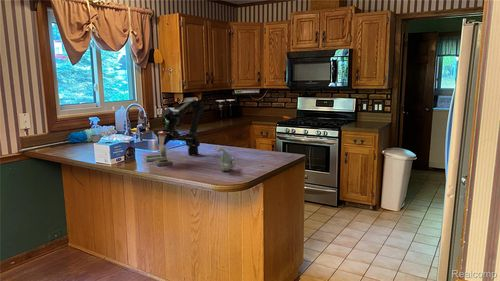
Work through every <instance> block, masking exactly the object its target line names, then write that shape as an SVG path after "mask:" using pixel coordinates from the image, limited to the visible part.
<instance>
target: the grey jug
mask: <svg viewBox="0 0 500 281" xmlns="http://www.w3.org/2000/svg"><path fill="white" fill-rule="evenodd" d="M216 152H217V153H221V152H222V155H220V162H219V161H218V164H220V165H219V169H222V170H223V171H225V172H228V171H230V170H231V169H232V168H235V166H236V165H235V162H236V161H235V159H234V156H231V154H229V152H228V151H227V150H225V149H224V148H222V147H221V146H218V147H217V149H216Z"/></svg>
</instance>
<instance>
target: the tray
mask: <svg viewBox="0 0 500 281" xmlns="http://www.w3.org/2000/svg"><path fill="white" fill-rule="evenodd" d="M163 159H168V156H166V157H160V154H156V155H155V154H154V155H144V160H145V161H146V162H147V163H148V161H149V162H155V160H163Z"/></svg>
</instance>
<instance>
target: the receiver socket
mask: <svg viewBox="0 0 500 281" xmlns="http://www.w3.org/2000/svg"><path fill="white" fill-rule="evenodd" d="M154 163H155V165H156V166H157V167H163V166H172V165H173V164H174V163H173V161H172V160H171V159H170V158H167V159H163V160H155V161H154Z"/></svg>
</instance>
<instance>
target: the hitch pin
mask: <svg viewBox="0 0 500 281" xmlns="http://www.w3.org/2000/svg"><path fill="white" fill-rule="evenodd" d="M157 134H159V144H158V146H159V147H158V149H159V155H160V157H168V156H167V155H168V154H167V144H166V145H164V141H165V138H166V134H167V132H166V131H163V130H161V132H157Z"/></svg>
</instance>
